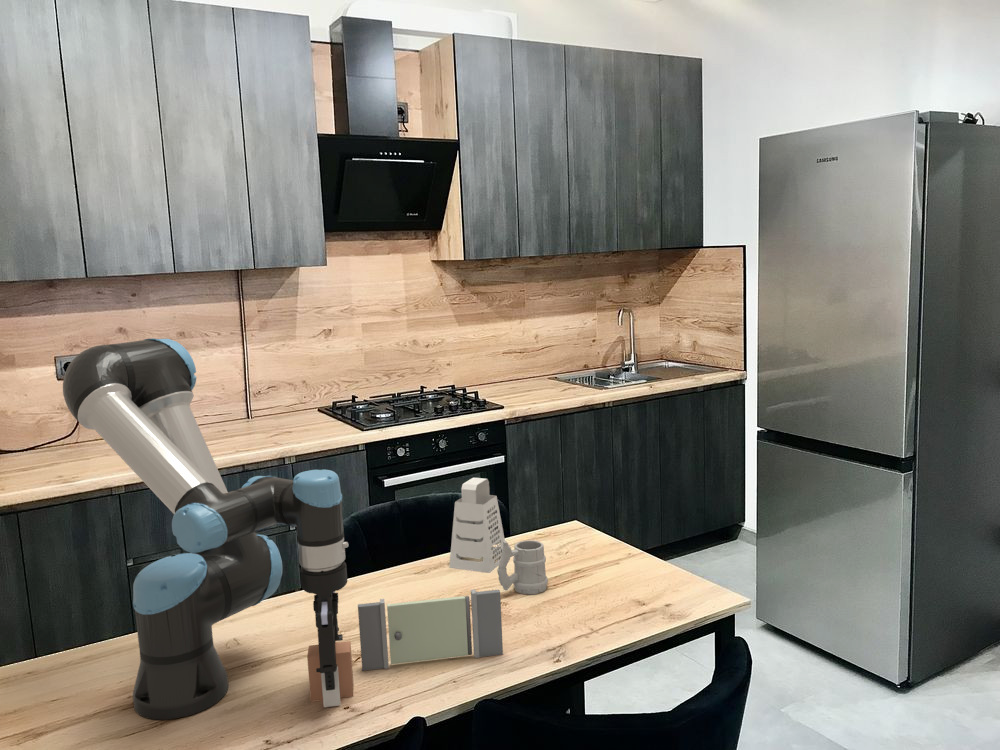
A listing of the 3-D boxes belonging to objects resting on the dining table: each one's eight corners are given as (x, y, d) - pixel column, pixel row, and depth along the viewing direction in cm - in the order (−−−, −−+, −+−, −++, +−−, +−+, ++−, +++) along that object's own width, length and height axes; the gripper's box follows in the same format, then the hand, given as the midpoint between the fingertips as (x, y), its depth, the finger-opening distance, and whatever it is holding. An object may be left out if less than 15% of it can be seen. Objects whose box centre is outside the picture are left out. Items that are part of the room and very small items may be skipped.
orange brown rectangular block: (310, 701, 138) (307, 656, 137) (312, 689, 142) (308, 645, 141) (353, 696, 139) (350, 651, 138) (353, 684, 143) (350, 641, 142)
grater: (507, 557, 200) (504, 477, 197) (489, 573, 191) (485, 489, 188) (468, 552, 205) (465, 473, 202) (449, 567, 195) (444, 485, 192)
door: (391, 667, 148) (387, 608, 146) (390, 661, 150) (386, 604, 148) (473, 657, 150) (470, 600, 148) (471, 652, 152) (468, 595, 150)
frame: (362, 671, 148) (357, 605, 146) (362, 666, 149) (357, 601, 148) (503, 655, 151) (500, 590, 150) (501, 650, 153) (498, 586, 151)
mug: (555, 589, 180) (553, 536, 178) (508, 603, 174) (506, 548, 172) (535, 578, 186) (533, 527, 185) (490, 591, 180) (488, 538, 179)
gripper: (344, 585, 128) (354, 722, 131) (347, 540, 148) (355, 660, 152) (294, 590, 127) (306, 728, 130) (304, 544, 147) (314, 665, 150)
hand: (333, 691), depth 141 cm, fingers open, 8 cm apart
